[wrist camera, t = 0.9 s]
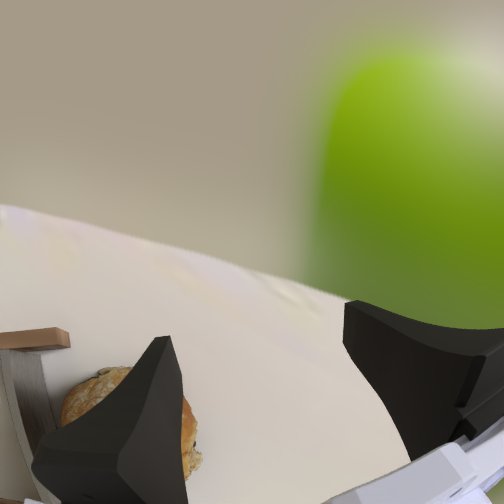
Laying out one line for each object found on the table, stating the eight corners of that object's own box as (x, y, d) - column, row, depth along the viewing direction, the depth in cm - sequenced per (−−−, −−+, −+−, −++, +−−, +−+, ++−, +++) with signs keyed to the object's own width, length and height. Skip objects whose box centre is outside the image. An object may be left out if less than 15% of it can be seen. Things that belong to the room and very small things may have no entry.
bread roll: (158, 362, 24) (124, 317, 18) (235, 451, 19) (222, 443, 13) (77, 418, 20) (22, 390, 14) (140, 514, 15) (91, 525, 9)
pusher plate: (84, 504, 14) (67, 532, 9) (76, 504, 14) (58, 532, 9) (40, 355, 18) (8, 349, 13) (32, 355, 18) (-1, 349, 13)
